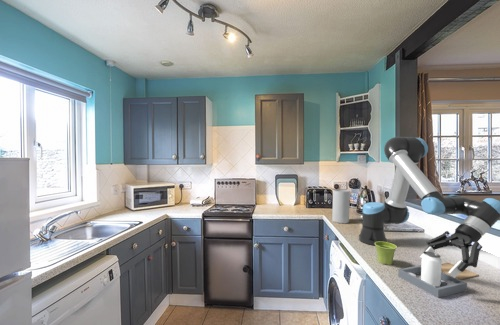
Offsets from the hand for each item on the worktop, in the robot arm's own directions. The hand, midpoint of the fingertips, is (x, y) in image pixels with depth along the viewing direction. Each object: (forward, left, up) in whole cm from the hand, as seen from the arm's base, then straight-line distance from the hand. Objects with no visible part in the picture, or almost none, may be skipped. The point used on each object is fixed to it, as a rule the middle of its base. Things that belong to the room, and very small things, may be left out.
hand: (435, 266), depth 94 cm
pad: (-5, +20, -7) cm, 22 cm away
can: (-1, -1, -7) cm, 8 cm away
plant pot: (-21, -3, -7) cm, 23 cm away
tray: (-1, -1, -7) cm, 7 cm away
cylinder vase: (-87, +25, -7) cm, 91 cm away
